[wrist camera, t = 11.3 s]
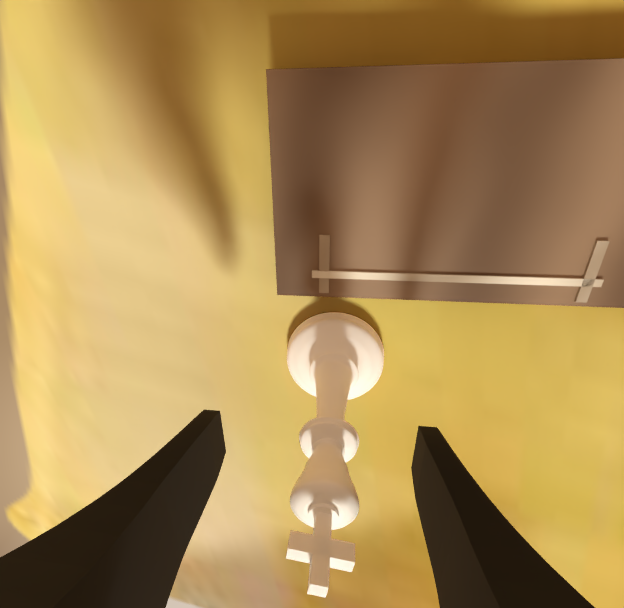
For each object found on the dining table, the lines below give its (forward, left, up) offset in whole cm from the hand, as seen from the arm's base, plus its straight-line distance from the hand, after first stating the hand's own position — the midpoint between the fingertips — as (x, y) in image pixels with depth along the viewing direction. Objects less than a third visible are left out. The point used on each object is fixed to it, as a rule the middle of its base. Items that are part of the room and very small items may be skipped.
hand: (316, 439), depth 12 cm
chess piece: (0, 0, -6) cm, 6 cm away
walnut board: (-7, -8, -5) cm, 12 cm away
